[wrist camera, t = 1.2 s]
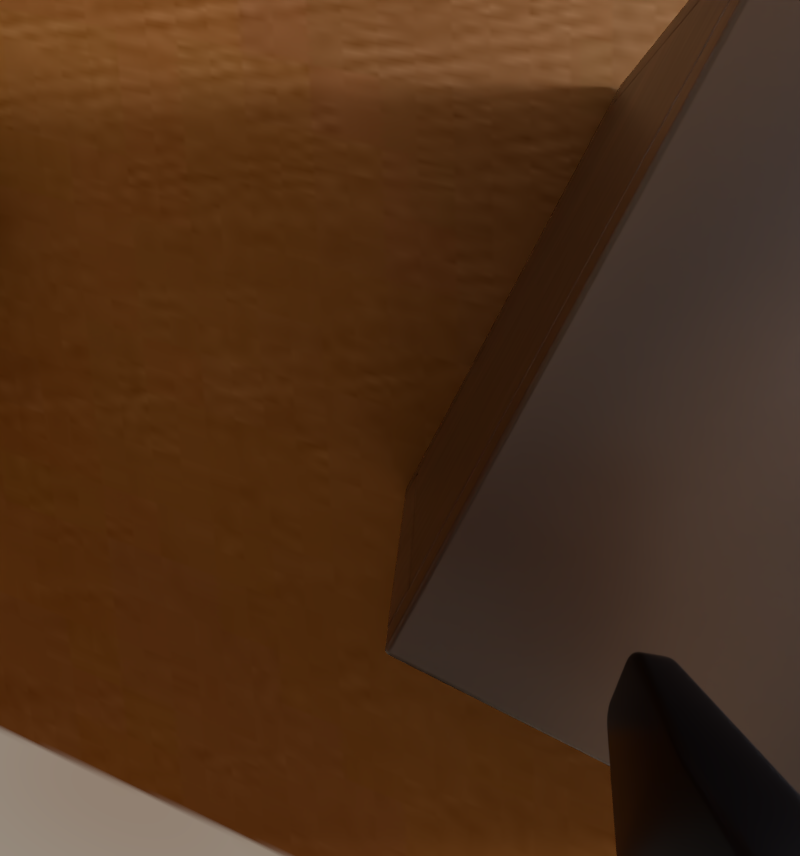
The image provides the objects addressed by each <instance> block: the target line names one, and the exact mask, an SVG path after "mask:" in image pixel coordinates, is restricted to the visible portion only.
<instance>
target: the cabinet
mask: <svg viewBox="0 0 800 856" xmlns="http://www.w3.org/2000/svg"><path fill="white" fill-rule="evenodd" d="M385 651H386V653H387V654H388V655H390V656H392V657H394V658H396V659H398V660H400V661H402V662H404V663H406V664H408V665H410V666H412V667H414V668H416V669H418V670H420V671H422V672H424V673H426V674H428V675H430V676H432V677H434V678H436V679H438V680H440V681H442V682H444V683H446V684H448V685H450V686H452V687H454V688H456V689H458V690H460V691H462V692H464V693H466V694H468V695H470V696H472V697H474V698H476V699H477V700H479V701H481V702H483V703H485V704H487V705H489V706H491V707H493V708H495V709H497V710H499V711H501V712H503V713H505V714H507V715H509V716H511V717H513V718H515V719H517V720H519V721H521V722H523V723H525V724H527V725H529V726H531V727H533V728H535V729H537V730H539V731H541V732H543V733H545V734H547V735H549V736H551V737H553V738H555V739H557V740H559V741H561V742H563V743H565V744H567V745H569V746H571V747H573V748H575V749H577V750H579V751H581V752H583V753H585V754H587V755H589V756H591V757H593V758H595V759H597V760H599V761H601V762H603V763H605V764H607V765H609V766H610V760H609V747H608V733H607V714H608V708H609V704H610V701H611V698H612V696H613V693H614V691H615V688H616V686H617V683H618V681H619V678H620V676H621V673H622V671H623V668H624V666H625V663H626V661H627V659H628V657H629V656H630V655H631V654H632V653H634V652H644V653H650V654H656V655H662V656H667V657H670V658H672V659H673V660H675V661H676V662H677V663H678V664H679V665H680V666H681V667H682V668H683V669H684V670H685V672H686V673H687V674H688V675H689V676H690V677H691V678H692V679H693V680H694V681H695V682H696V683H697V684H698V686H699V687H700V688H701V689H702V690H703V691H704V692H705V693H706V694H707V695H708V696H709V697H710V698H711V700H712V701H713V702H714V703H715V704H716V705H717V706H718V707H719V708H720V709H721V710H722V711H723V712H724V714H725V715H726V716H727V717H728V718H729V719H730V720H731V721H732V722H733V723H734V724H735V725H736V727H737V728H738V729H739V730H740V731H741V732H742V733H743V734H744V735H745V736H746V737H747V738H748V739H749V741H750V742H751V743H752V744H753V745H754V746H755V747H756V748H757V749H758V750H759V751H760V752H761V753H762V755H763V756H764V757H765V758H766V759H767V760H768V761H769V762H770V763H771V764H772V765H773V766H774V767H775V769H776V770H777V771H778V772H779V773H780V774H781V775H782V776H783V777H784V778H785V779H786V780H787V781H788V783H789V784H790V785H791V786H792V787H793V788H794V789H795V790H796V791H797V792H798V793H799V794H800V0H689V1H688V2H687V3H686V5H685V6H684V7H683V8H682V10H681V11H680V12H679V13H678V15H677V16H676V17H675V18H674V20H673V21H672V22H671V23H670V25H669V26H668V27H667V28H666V30H665V31H664V32H663V33H662V35H661V36H660V37H659V38H658V40H657V41H656V42H655V43H654V45H653V46H652V47H651V48H650V50H649V51H648V52H647V53H646V55H645V56H644V57H643V58H642V60H641V61H640V62H639V63H638V65H637V66H636V67H635V68H634V70H633V71H632V72H631V73H630V75H629V76H628V77H627V78H626V79H625V81H624V82H623V83H622V84H621V86H620V87H619V89H618V91H617V93H616V95H615V97H614V99H613V101H612V103H611V104H610V106H609V108H608V110H607V112H606V114H605V116H604V118H603V119H602V121H601V123H600V125H599V127H598V129H597V131H596V133H595V135H594V136H593V138H592V140H591V142H590V144H589V146H588V148H587V150H586V152H585V153H584V155H583V157H582V159H581V161H580V163H579V165H578V167H577V168H576V170H575V172H574V174H573V176H572V178H571V180H570V182H569V184H568V185H567V187H566V189H565V191H564V193H563V195H562V197H561V199H560V200H559V202H558V204H557V206H556V208H555V210H554V212H553V214H552V216H551V217H550V219H549V221H548V223H547V225H546V227H545V229H544V231H543V233H542V234H541V236H540V238H539V240H538V242H537V244H536V246H535V248H534V249H533V251H532V253H531V255H530V257H529V259H528V261H527V263H526V265H525V266H524V268H523V270H522V272H521V274H520V276H519V278H518V280H517V282H516V283H515V285H514V287H513V289H512V291H511V293H510V295H509V297H508V298H507V300H506V302H505V304H504V306H503V308H502V310H501V312H500V314H499V315H498V317H497V319H496V321H495V323H494V325H493V327H492V329H491V331H490V332H489V334H488V336H487V338H486V340H485V342H484V344H483V346H482V347H481V349H480V351H479V353H478V355H477V357H476V359H475V361H474V363H473V364H472V366H471V368H470V370H469V372H468V374H467V376H466V378H465V380H464V381H463V383H462V385H461V387H460V389H459V391H458V393H457V395H456V396H455V398H454V400H453V402H452V404H451V406H450V408H449V410H448V412H447V413H446V415H445V417H444V419H443V421H442V423H441V425H440V427H439V429H438V430H437V432H436V434H435V436H434V438H433V440H432V442H431V444H430V445H429V447H428V449H427V451H426V453H425V455H424V457H423V459H422V461H421V462H420V464H419V466H418V468H417V470H416V472H415V474H414V476H413V478H412V479H411V481H410V483H409V485H408V487H407V489H406V494H405V502H404V510H403V517H402V524H401V532H400V539H399V547H398V554H397V562H396V569H395V576H394V584H393V591H392V599H391V606H390V614H389V621H388V631H387V639H386V646H385Z"/></svg>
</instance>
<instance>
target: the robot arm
mask: <svg viewBox="0 0 800 856" xmlns="http://www.w3.org/2000/svg"><path fill="white" fill-rule="evenodd" d="M607 733H608V747H609V760H610V773H611V786H612V799H613V813H614V826H615V839H616V851H617V856H800V794H799V793H798V792H797V791H796V790H795V789H794V788H793V787H792V786H791V785H790V784H789V783H788V781H787V780H786V779H785V778H784V777H783V776H782V775H781V774H780V773H779V772H778V771H777V770H776V769H775V767H774V766H773V765H772V764H771V763H770V762H769V761H768V760H767V759H766V758H765V757H764V756H763V755H762V753H761V752H760V751H759V750H758V749H757V748H756V747H755V746H754V745H753V744H752V743H751V742H750V741H749V739H748V738H747V737H746V736H745V735H744V734H743V733H742V732H741V731H740V730H739V729H738V728H737V727H736V725H735V724H734V723H733V722H732V721H731V720H730V719H729V718H728V717H727V716H726V715H725V714H724V712H723V711H722V710H721V709H720V708H719V707H718V706H717V705H716V704H715V703H714V702H713V701H712V700H711V698H710V697H709V696H708V695H707V694H706V693H705V692H704V691H703V690H702V689H701V688H700V687H699V686H698V684H697V683H696V682H695V681H694V680H693V679H692V678H691V677H690V676H689V675H688V674H687V673H686V672H685V670H684V669H683V668H682V667H681V666H680V665H679V664H678V663H677V662H676V661H675V660H673V659H672V658H670V657H667V656H662V655H656V654H650V653H644V652H634V653H632V654H631V655H630V656H629V657H628V659H627V661H626V663H625V666H624V668H623V671H622V673H621V676H620V678H619V681H618V683H617V686H616V688H615V691H614V693H613V696H612V698H611V701H610V704H609V708H608V714H607Z"/></svg>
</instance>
